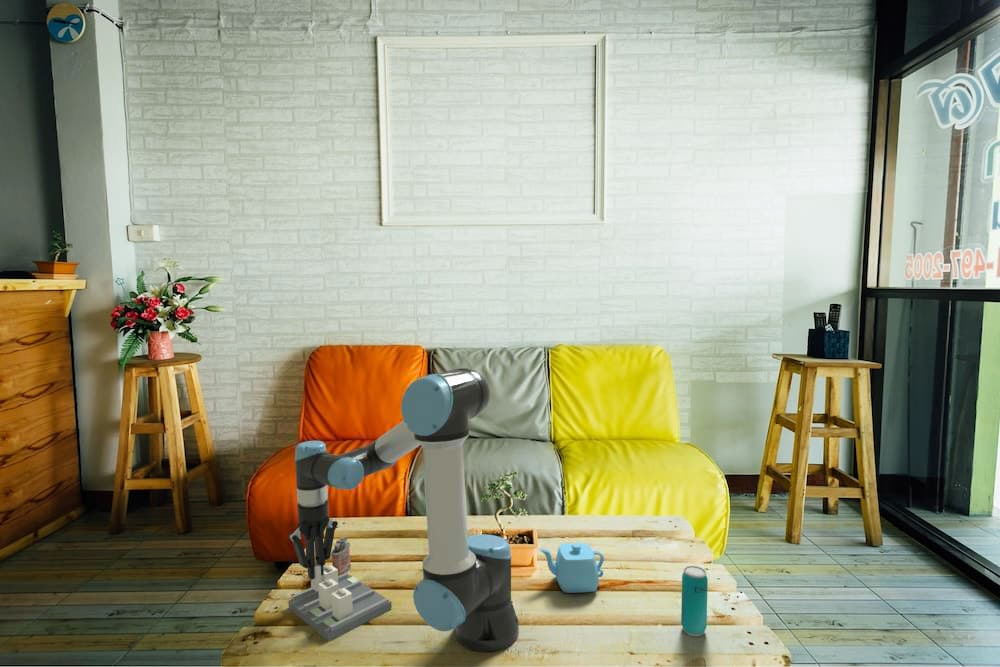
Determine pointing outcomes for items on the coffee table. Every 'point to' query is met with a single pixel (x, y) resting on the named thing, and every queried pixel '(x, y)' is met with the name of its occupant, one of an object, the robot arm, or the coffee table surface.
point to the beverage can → (694, 600)
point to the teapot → (575, 567)
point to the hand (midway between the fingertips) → (316, 588)
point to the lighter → (341, 556)
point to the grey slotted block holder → (322, 621)
